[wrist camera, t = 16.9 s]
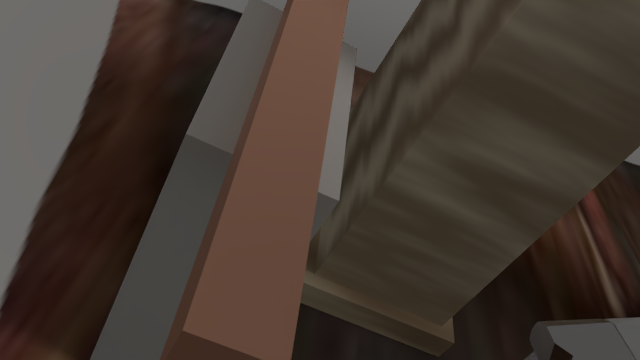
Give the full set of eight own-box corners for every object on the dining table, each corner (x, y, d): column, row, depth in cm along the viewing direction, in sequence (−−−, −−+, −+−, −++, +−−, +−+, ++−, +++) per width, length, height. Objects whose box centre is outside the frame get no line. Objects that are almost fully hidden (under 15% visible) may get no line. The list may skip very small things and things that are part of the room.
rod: (294, -19, 33) (313, -59, 32) (333, 2, 34) (354, -37, 32) (151, 384, 14) (182, 330, 13) (247, 416, 15) (289, 369, 13)
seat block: (158, 209, 40) (251, -5, 30) (240, 243, 41) (356, 48, 31) (87, 365, 31) (185, 133, 21) (195, 401, 32) (339, 201, 22)
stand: (315, 140, 54) (492, -146, 38) (428, 192, 56) (639, -56, 40) (286, 297, 40) (545, -50, 24) (438, 357, 43) (762, 78, 27)
